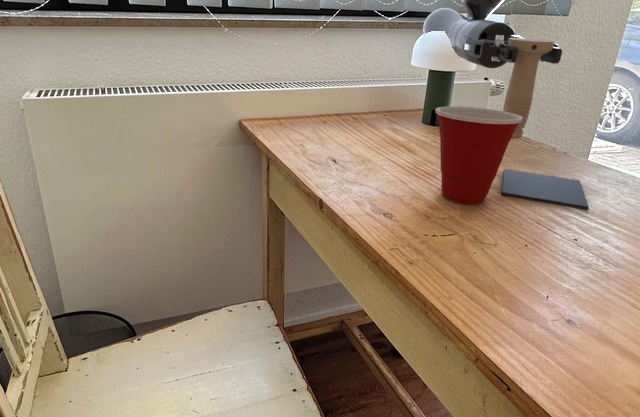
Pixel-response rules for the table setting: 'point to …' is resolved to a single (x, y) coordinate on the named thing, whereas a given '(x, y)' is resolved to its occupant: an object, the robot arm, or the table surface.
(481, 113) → the plastic cup
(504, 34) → the robot arm
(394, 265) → the table surface
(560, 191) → the mat
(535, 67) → the handle
